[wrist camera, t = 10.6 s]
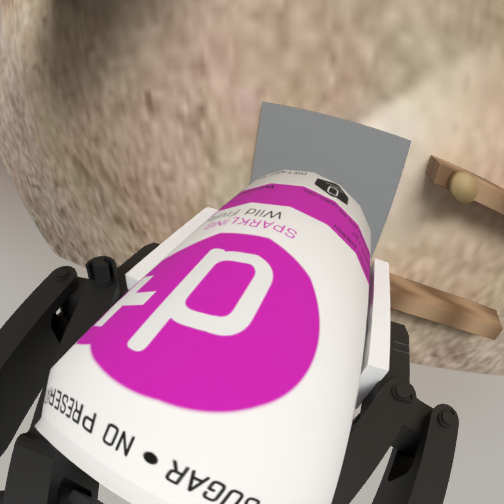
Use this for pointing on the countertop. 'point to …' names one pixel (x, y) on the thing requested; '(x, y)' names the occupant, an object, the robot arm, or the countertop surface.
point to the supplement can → (227, 357)
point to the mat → (333, 156)
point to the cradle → (438, 302)
